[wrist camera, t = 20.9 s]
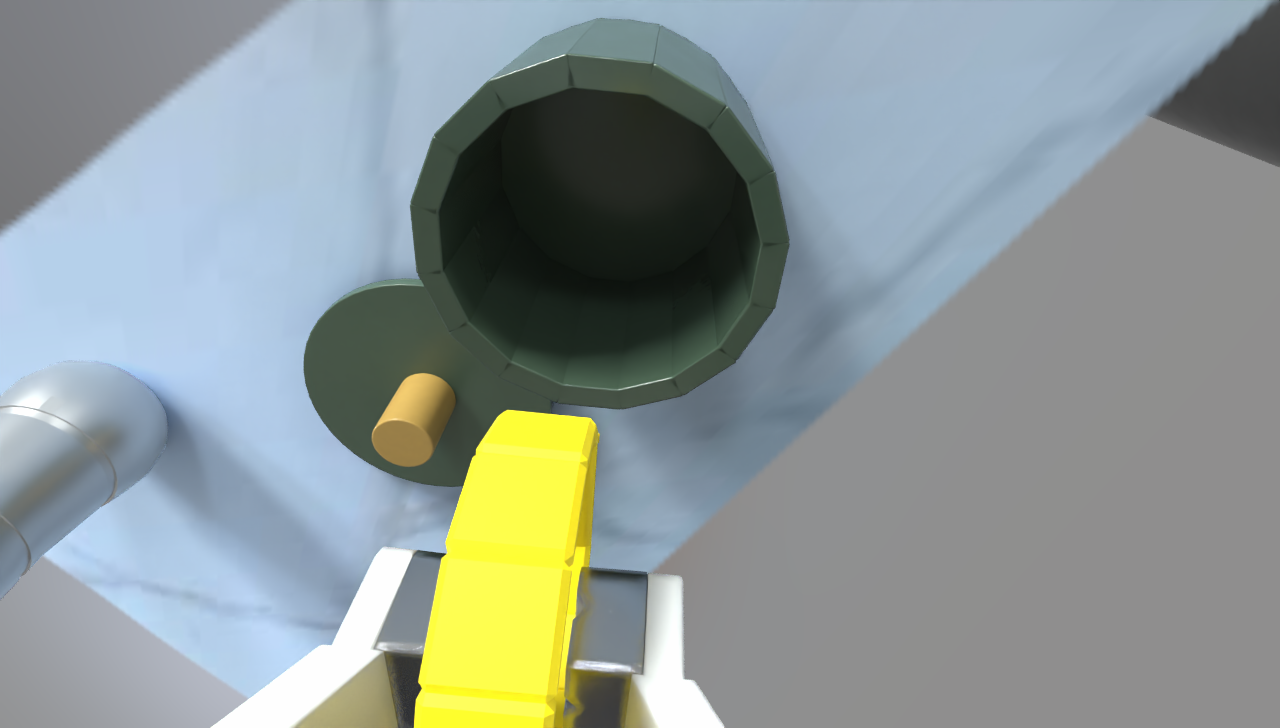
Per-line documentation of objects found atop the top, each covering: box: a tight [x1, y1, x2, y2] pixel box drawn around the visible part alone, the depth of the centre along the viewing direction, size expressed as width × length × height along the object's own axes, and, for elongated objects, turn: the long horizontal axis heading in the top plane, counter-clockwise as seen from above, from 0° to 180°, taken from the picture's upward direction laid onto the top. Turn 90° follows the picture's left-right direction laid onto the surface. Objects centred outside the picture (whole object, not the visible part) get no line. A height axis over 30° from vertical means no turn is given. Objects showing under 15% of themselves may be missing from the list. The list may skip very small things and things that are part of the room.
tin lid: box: [304, 279, 553, 487], centre depth 30 cm, size 11×11×5 cm
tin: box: [410, 18, 789, 409], centre depth 23 cm, size 11×11×8 cm
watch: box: [414, 410, 600, 728], centre depth 9 cm, size 6×3×6 cm, turn 175°
